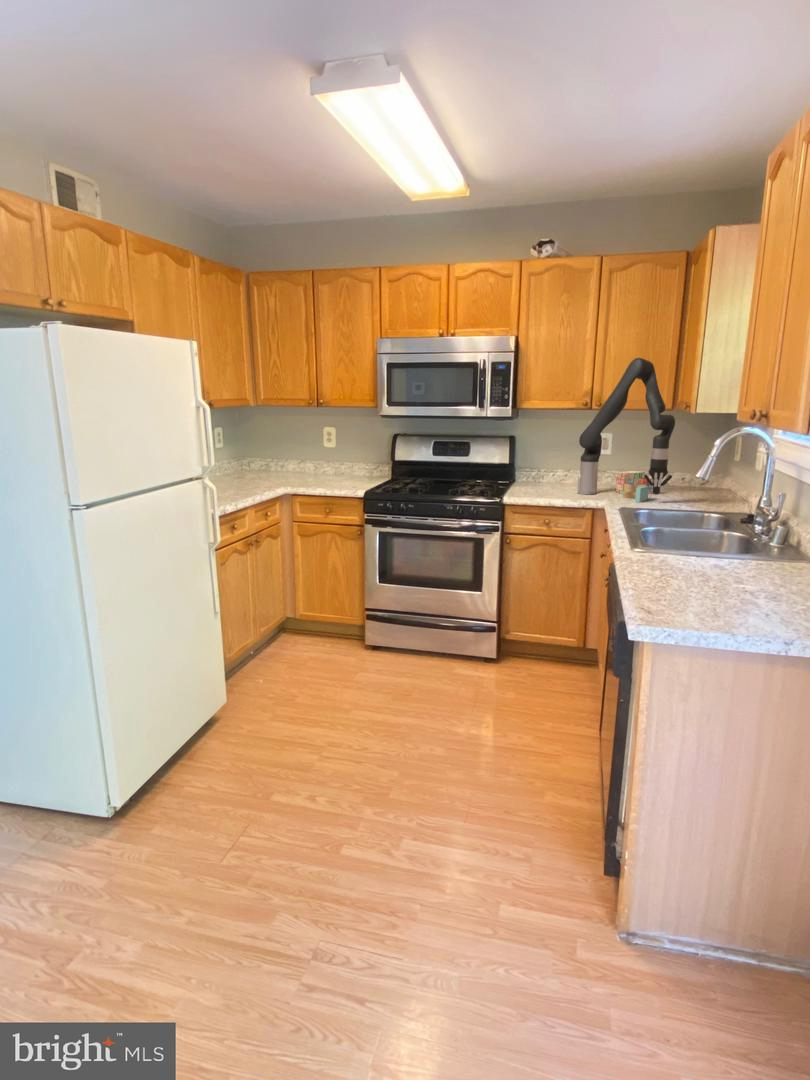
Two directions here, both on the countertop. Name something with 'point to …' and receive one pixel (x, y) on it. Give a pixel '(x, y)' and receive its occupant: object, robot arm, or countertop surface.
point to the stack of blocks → (632, 480)
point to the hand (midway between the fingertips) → (655, 494)
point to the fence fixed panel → (631, 490)
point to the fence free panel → (641, 494)
